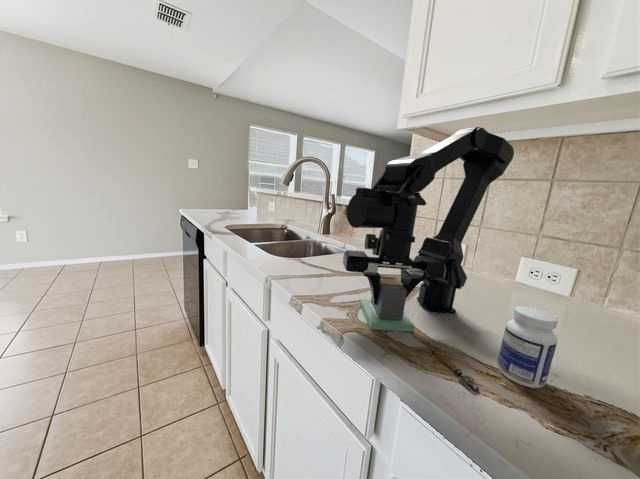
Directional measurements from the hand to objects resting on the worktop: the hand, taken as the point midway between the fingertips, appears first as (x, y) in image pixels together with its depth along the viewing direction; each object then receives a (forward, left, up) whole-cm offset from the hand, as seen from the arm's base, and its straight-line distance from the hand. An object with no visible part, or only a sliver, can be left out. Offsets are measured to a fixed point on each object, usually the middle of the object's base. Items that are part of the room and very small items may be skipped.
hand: (386, 304), depth 51 cm
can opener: (-6, +15, -3) cm, 16 cm away
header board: (0, 0, -3) cm, 3 cm away
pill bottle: (-16, +15, -3) cm, 22 cm away
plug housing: (0, 0, -1) cm, 1 cm away
